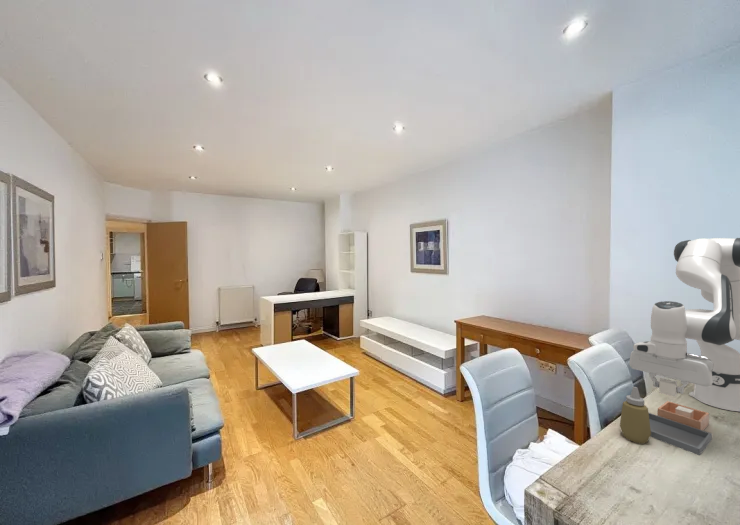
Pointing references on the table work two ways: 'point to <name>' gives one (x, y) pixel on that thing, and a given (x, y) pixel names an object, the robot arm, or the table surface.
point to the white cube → (685, 412)
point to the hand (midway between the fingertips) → (668, 389)
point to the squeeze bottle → (635, 418)
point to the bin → (699, 416)
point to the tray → (679, 434)
